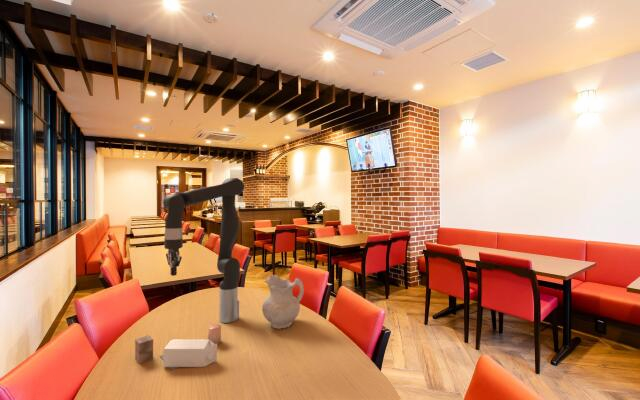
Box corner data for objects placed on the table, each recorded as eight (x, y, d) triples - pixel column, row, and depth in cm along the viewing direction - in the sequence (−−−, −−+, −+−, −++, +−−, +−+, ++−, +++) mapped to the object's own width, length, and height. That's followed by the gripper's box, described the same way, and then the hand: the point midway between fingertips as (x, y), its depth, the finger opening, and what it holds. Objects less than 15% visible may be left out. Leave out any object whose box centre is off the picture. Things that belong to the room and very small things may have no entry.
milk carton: (171, 339, 119) (219, 339, 120) (170, 356, 119) (219, 356, 120) (163, 348, 111) (214, 348, 113) (162, 367, 112) (214, 367, 113)
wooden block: (149, 354, 122) (149, 335, 122) (153, 359, 118) (153, 339, 118) (135, 359, 118) (135, 339, 118) (138, 364, 115) (139, 343, 114)
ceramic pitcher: (306, 320, 160) (307, 273, 161) (300, 333, 140) (301, 280, 142) (267, 318, 162) (268, 272, 164) (256, 331, 142) (258, 279, 144)
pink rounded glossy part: (217, 338, 136) (217, 323, 136) (223, 342, 132) (223, 327, 132) (205, 342, 132) (205, 326, 132) (211, 347, 128) (211, 331, 128)
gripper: (187, 238, 134) (187, 276, 134) (176, 235, 143) (176, 271, 143) (170, 240, 129) (170, 279, 129) (159, 237, 138) (159, 274, 138)
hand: (173, 275), depth 136 cm, fingers closed
